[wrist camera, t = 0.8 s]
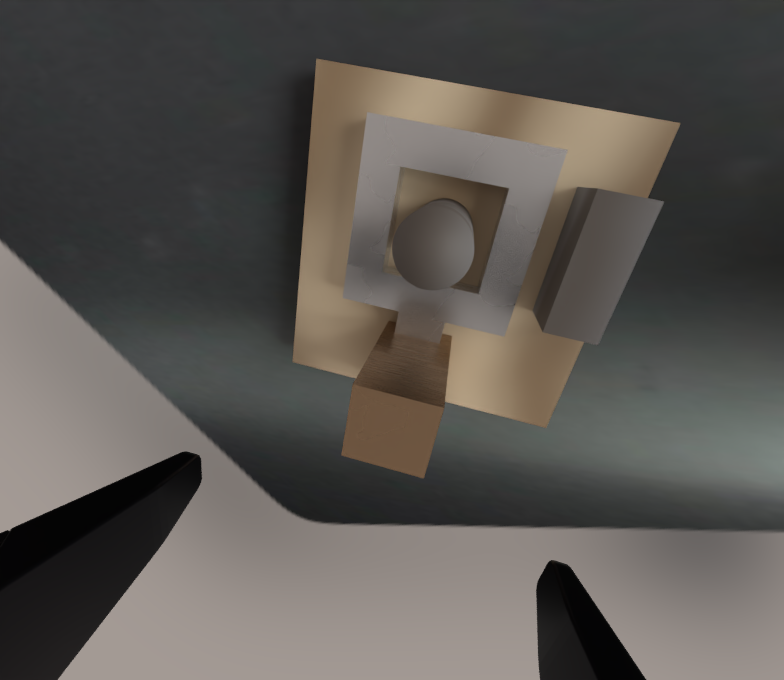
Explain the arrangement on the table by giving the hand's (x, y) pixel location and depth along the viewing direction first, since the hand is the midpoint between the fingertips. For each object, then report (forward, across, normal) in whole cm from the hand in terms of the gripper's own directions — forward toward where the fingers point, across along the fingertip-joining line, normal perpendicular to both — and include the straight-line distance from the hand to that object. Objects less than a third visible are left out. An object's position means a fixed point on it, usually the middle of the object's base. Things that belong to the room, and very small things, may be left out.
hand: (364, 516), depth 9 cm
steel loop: (+9, 0, -4) cm, 10 cm away
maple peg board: (+11, 0, -4) cm, 12 cm away
